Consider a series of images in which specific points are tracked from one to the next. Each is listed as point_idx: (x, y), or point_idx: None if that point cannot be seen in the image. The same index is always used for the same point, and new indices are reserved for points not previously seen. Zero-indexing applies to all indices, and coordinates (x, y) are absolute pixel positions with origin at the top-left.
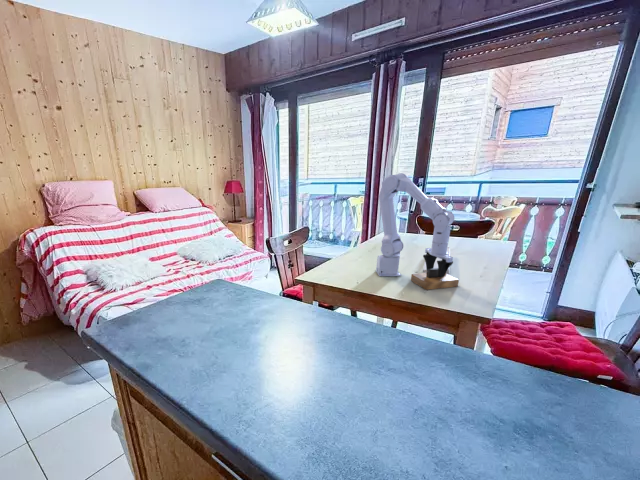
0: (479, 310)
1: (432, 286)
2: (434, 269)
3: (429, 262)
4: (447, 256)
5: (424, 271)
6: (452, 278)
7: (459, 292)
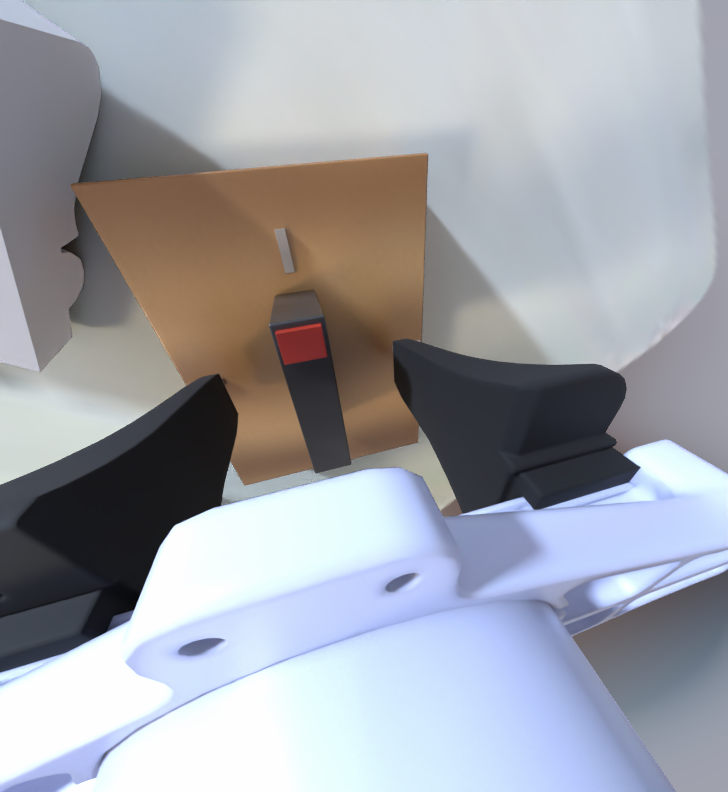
0: (679, 281)
1: None
2: (344, 428)
3: (207, 485)
4: (684, 580)
5: (51, 350)
6: (380, 214)
7: (496, 241)
